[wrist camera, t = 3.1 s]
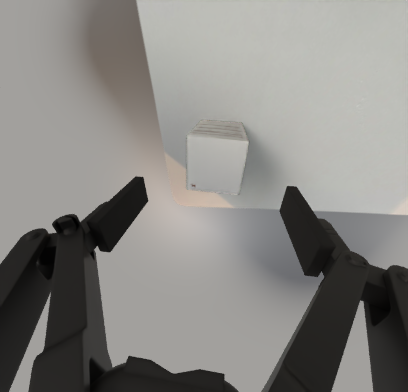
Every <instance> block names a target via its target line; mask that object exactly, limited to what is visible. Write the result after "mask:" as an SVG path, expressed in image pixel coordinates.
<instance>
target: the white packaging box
mask: <svg viewBox="0 0 408 392" xmlns="http://www.w3.org/2000/svg"><path fill="white" fill-rule="evenodd" d="M248 147H249V140H248V137H247V134H246V132H245V129H244V126H243V124H242V123H238V122H224V121H210V120H201V121H200V122H199V123H198V124H197V125H196V126H195V127H194V128H193V129H192V130H191V131H190V132H189V133H188V134H187V135H186V189H187V190H196V191H205V192H214V193H223V194H232V195H239V193H240V189H241V184H242V179H243V174H244V169H245V163H246V158H247V153H248Z"/></svg>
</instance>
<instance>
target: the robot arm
mask: <svg viewBox="0 0 408 392" xmlns="http://www.w3.org/2000/svg"><path fill="white" fill-rule="evenodd" d="M147 202H148V198H147V193H146V188H145V183H144V178H143V177H135V178H134V179H132V180H131V181H130V182H129V183H128V184H127V185H126V186H125V187H124V188H123V189H122V190H120V191H119V192H118V193H117V194H116V195H115V196H114V197H113V198H112V199H111V200H110V201H108V202H105V203H103V204H101V205H99V206H98V207H97V208H96V209H95V210H94V211H93V212H92V213H90V214H89V215H88V216H87V217H86V218H85V219H84V220H82V221H81V222H80V221H79V219H78V217H77V216H76V215H74V214H69V215H65V216H62V217H60V218H58V219H56V220H55V221H54V222H53V223H52V225H53V227H54V229H55V230H56V232H57V233H52V234H49V233H48V232H47V230H46V229H43V228H42V229H35V230H32V231H30V232H28V233H26V234H25V235H23V236H22V237H21V238H20V240H19V241H18V242H17V243H16V245H15V246H14V247H13V249H12V250H11V251H10V252H9V254H8V255H7V257H6V258H5V259H4V260H3V261H2V263H1V264H0V392H9V390H10V388H11V385H12V383H13V380H14V378H15V376H16V373H17V371H18V369H19V366H20V364H21V361H22V359H23V357H24V354H25V352H26V349H27V347H28V344H29V342H30V340H31V337H32V335H33V332H34V330H35V328H36V325H37V323H38V320H39V318H40V316H41V313H42V311H43V309H44V306H45V304H46V302H47V299H48V297H49V294H50V292H51V297H50V306H49V314H48V322H47V330H46V338H45V346H44V350H43V352H42V353H41V354H39V355H37V357H36V359H35V360H34V363H33V367H32V373H31V379H30V385H29V392H238V390H237V389H235V388H234V387H233V386H232V385H231V384H230V383H228V382H226V381H225V380H224V374H222V373H217V372H211V371H206V370H201V369H199V370H194V371H188V372H182V373H177V374H173V373H171V372H169V371H167V370H166V369H164V368H163V367H161V366H160V365H158V364H156V363H155V362H153V361H151V360H147V359H143V358H137V357H132V356H129V357H128V359H127V362H126V363H123V364H120V365H118V366H115V367H113V368H112V363H111V360H110V357H109V354H108V350H107V342H106V334H105V326H104V318H103V310H102V301H101V293H100V285H99V277H98V269H97V261H96V253H95V251H94V249H95V248H96V246H98V247H99V250H100V251H103V252H111V251H112V249H113V248H114V246H115V245H116V244H117V243H118V241H119V240H120V238H121V237H122V236H123V234H124V233H125V232H126V230H127V229H128V228H129V226H130V225H131V224H132V222H133V221H134V220H135V218H136V217H137V215H138V214H139V213H140V211H141V210H142V209H143V207H144V206H145V205H146V203H147ZM280 214H281V216H282V219H283V221H284V224H285V226H286V229H287V231H288V234H289V237H290V239H291V242H292V244H293V247H294V249H295V251H296V254H297V257H298V259H299V262H300V264H301V267H302V269H303V272H304V275H306V276H314V277H318V276H319V274H320V273H321V271H322V273H323V275H324V279H323V280H322V282H321V284H320V285H319V288H318V290H317V291H316V294H315V295H314V297H313V299H312V301H311V302H310V304H309V306H308V308H307V310H306V312H305V314H304V315H303V317H302V319H301V321H300V323H299V325H298V326H297V328H296V330H295V332H294V334H293V336H292V338H291V339H290V341H289V343H288V345H287V347H286V348H285V350H284V352H283V354H282V356H281V358H280V359H279V361H278V363H277V365H276V367H275V369H274V371H273V372H272V374H271V376H270V378H269V380H268V381H267V383H266V385H265V386H264V388H263V390H262V392H331V390H332V387H333V384H334V381H335V378H336V375H337V372H338V368H339V365H340V362H341V358H342V356H343V352H344V349H345V346H346V343H347V339H348V336H349V333H350V330H351V327H352V324H353V321H354V318H355V315H356V311H357V308H358V305H359V302H360V300H361V301H364V309H365V318H366V327H367V337H368V345H369V355H370V364H371V372H372V373H371V374H372V382H373V391H374V392H408V269H407V268H405V267H401V266H397V265H393V266H390V267H389V268H388V269H387V270H385V269H382V268H379V267H375V266H372V265H370V264H369V263H368V262H367V260H366V259H365V258H363V257H362V256H360V255H359V254H357V253H354V252H352V251H350V250H349V248H348V247H347V246H346V244H345V243H344V242H343V240H342V239H341V237H340V236H339V235H338V234H337V232H336V231H335V230H334V228H333V227H332V225H331V224H330V223H328V222H327V221H326V220H325V219H318V218H317V217H316V215H315V214H314V212H313V211H312V209H311V208H310V206H309V205H308V203H307V202H306V200H305V199H304V197H303V196H302V194H301V193H300V191H299V190H298V188H297V187H294V186H287V188H286V191H285V195H284V198H283V201H282V205H281V208H280Z"/></svg>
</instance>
